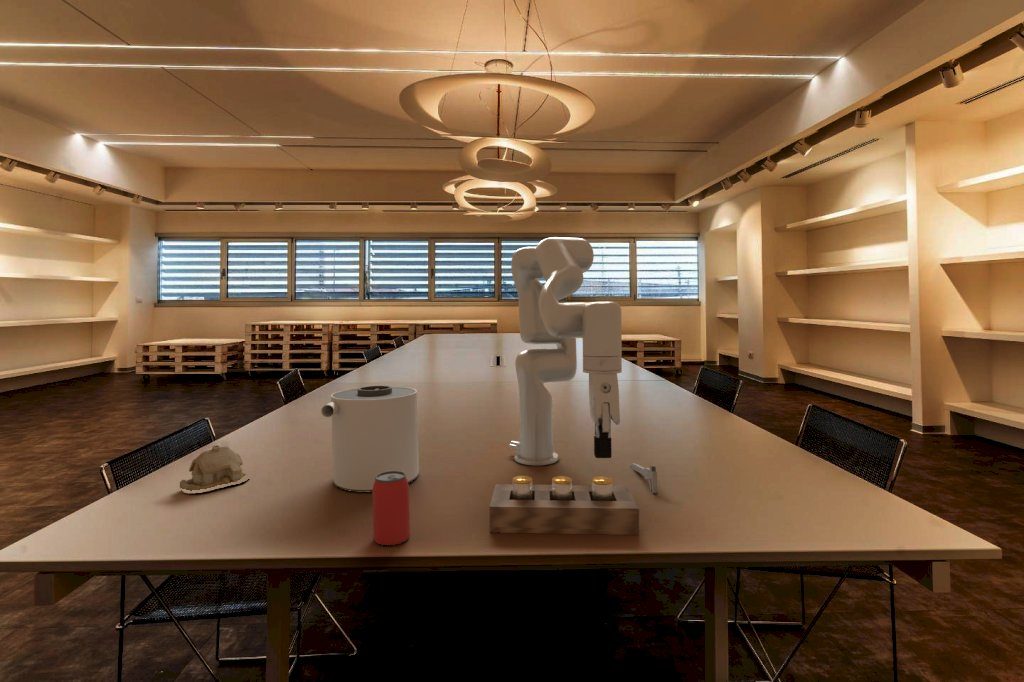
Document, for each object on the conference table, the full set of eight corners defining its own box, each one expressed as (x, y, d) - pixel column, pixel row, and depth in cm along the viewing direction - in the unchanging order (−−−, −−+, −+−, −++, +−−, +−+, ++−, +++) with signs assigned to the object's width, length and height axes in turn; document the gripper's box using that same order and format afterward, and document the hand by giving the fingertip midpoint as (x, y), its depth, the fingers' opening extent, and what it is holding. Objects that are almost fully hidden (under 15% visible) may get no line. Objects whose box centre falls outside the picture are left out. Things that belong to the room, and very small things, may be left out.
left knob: (512, 505, 94) (511, 482, 93) (513, 497, 98) (512, 475, 97) (532, 505, 93) (531, 482, 93) (532, 497, 97) (532, 475, 97)
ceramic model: (230, 474, 127) (228, 437, 126) (257, 480, 122) (256, 441, 121) (173, 491, 114) (171, 450, 114) (200, 499, 109) (198, 456, 109)
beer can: (391, 551, 84) (389, 484, 83) (366, 541, 87) (364, 477, 86) (417, 536, 89) (416, 473, 88) (392, 528, 93) (391, 467, 92)
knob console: (489, 532, 90) (489, 506, 90) (495, 507, 102) (495, 484, 102) (638, 534, 88) (638, 508, 88) (627, 508, 100) (627, 485, 100)
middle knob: (552, 505, 93) (552, 482, 93) (551, 497, 97) (551, 475, 97) (572, 506, 93) (572, 483, 93) (571, 498, 97) (571, 476, 97)
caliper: (657, 495, 109) (657, 468, 108) (653, 495, 108) (653, 468, 108) (634, 467, 129) (634, 444, 129) (630, 467, 129) (630, 444, 129)
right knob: (593, 506, 93) (593, 483, 93) (591, 498, 97) (591, 476, 96) (613, 506, 93) (613, 483, 92) (610, 498, 96) (610, 476, 96)
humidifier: (410, 493, 111) (408, 394, 110) (319, 495, 110) (316, 396, 109) (424, 464, 132) (422, 381, 131) (348, 466, 132) (346, 382, 130)
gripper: (628, 368, 85) (628, 468, 86) (615, 361, 100) (615, 447, 101) (586, 368, 86) (587, 468, 87) (579, 361, 101) (580, 446, 102)
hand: (602, 456), depth 94 cm, fingers closed
